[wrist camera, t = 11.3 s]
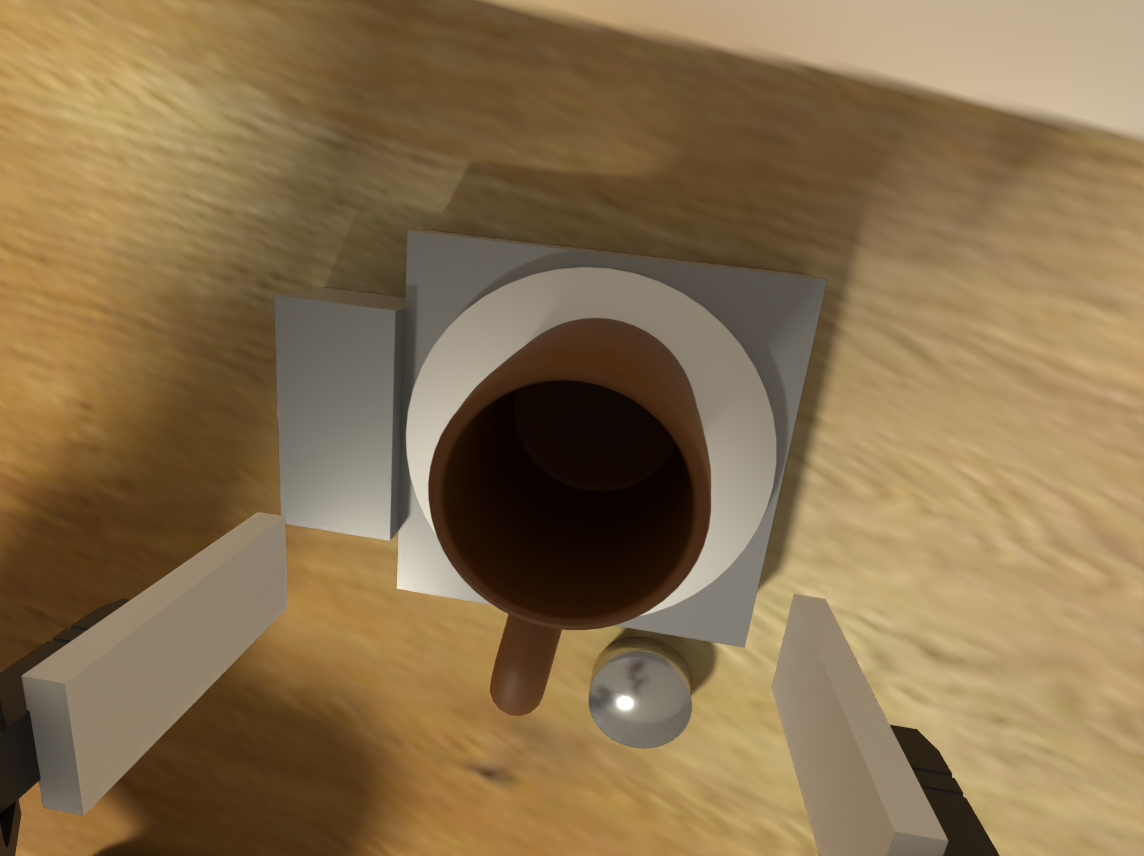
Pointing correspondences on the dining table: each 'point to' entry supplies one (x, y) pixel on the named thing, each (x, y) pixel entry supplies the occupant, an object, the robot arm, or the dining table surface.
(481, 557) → the mug
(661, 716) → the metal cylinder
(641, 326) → the scale
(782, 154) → the dining table surface
